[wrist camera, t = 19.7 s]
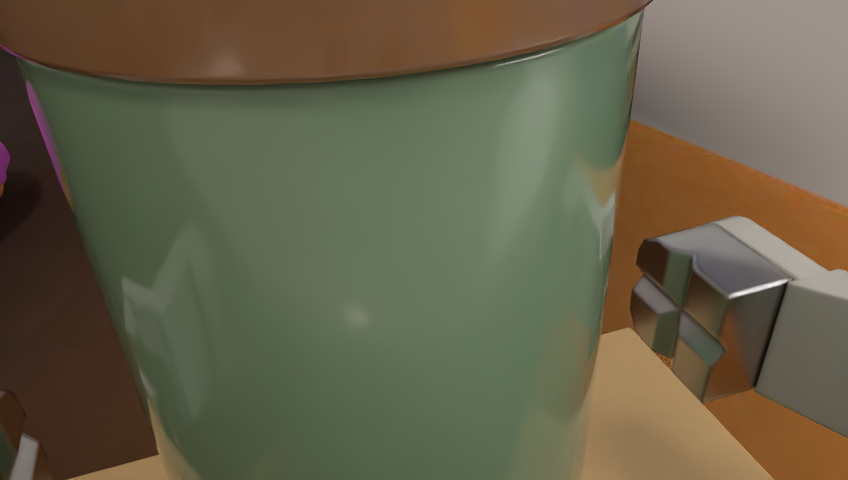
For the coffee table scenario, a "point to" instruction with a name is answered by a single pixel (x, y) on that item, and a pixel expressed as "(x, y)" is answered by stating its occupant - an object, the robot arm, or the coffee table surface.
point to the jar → (345, 221)
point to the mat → (616, 426)
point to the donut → (3, 166)
